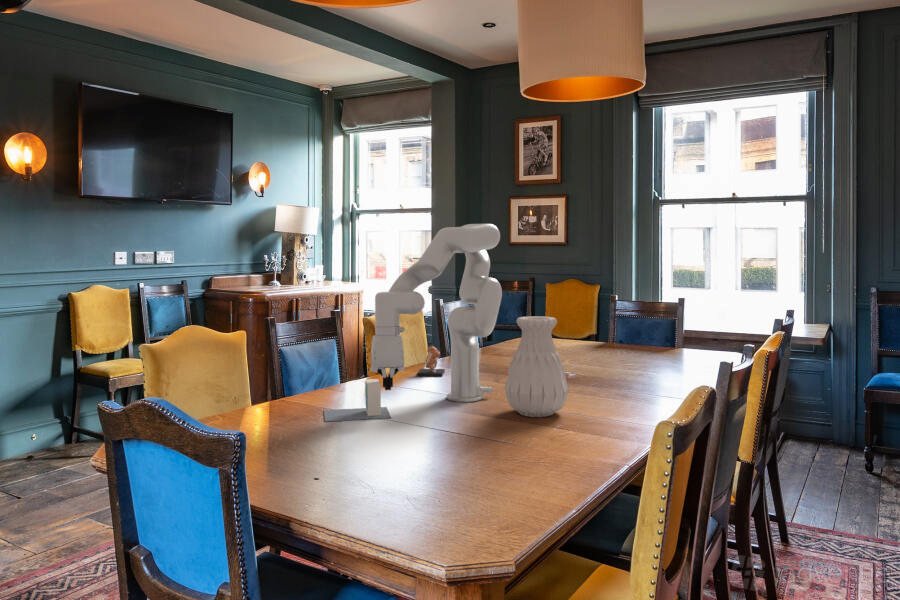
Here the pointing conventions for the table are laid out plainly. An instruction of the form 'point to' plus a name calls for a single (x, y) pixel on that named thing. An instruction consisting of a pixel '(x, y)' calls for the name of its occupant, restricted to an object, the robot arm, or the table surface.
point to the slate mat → (353, 414)
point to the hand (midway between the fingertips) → (387, 389)
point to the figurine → (431, 364)
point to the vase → (536, 370)
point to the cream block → (373, 397)
